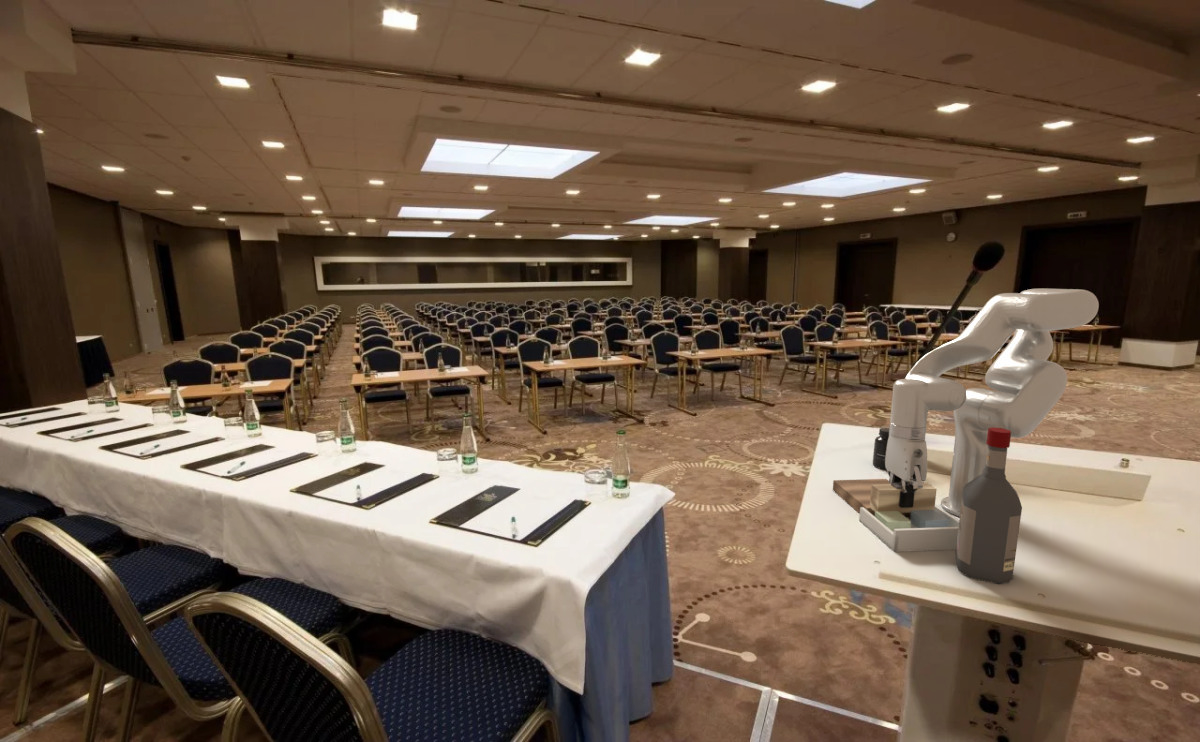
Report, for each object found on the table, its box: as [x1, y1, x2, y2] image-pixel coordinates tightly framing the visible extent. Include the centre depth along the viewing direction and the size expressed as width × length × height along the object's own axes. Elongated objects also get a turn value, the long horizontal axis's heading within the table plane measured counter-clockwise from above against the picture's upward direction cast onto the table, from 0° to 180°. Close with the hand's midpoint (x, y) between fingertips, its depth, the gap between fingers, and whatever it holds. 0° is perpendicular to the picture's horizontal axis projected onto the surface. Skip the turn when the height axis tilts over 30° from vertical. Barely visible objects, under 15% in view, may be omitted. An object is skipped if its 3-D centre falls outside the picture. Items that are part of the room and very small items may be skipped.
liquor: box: [955, 427, 1023, 585], centre depth 107 cm, size 9×9×30 cm
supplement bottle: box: [872, 427, 890, 471], centre depth 167 cm, size 7×7×12 cm
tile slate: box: [910, 510, 949, 528], centre depth 127 cm, size 6×6×3 cm
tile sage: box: [875, 511, 911, 532], centre depth 127 cm, size 6×6×3 cm
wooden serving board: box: [832, 478, 911, 517], centre depth 142 cm, size 18×15×3 cm
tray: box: [859, 504, 960, 553], centre depth 125 cm, size 15×19×5 cm
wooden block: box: [870, 482, 937, 513], centre depth 131 cm, size 4×14×7 cm, turn 92°
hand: (900, 502), depth 131 cm, fingers closed on wooden block, 3 cm apart
